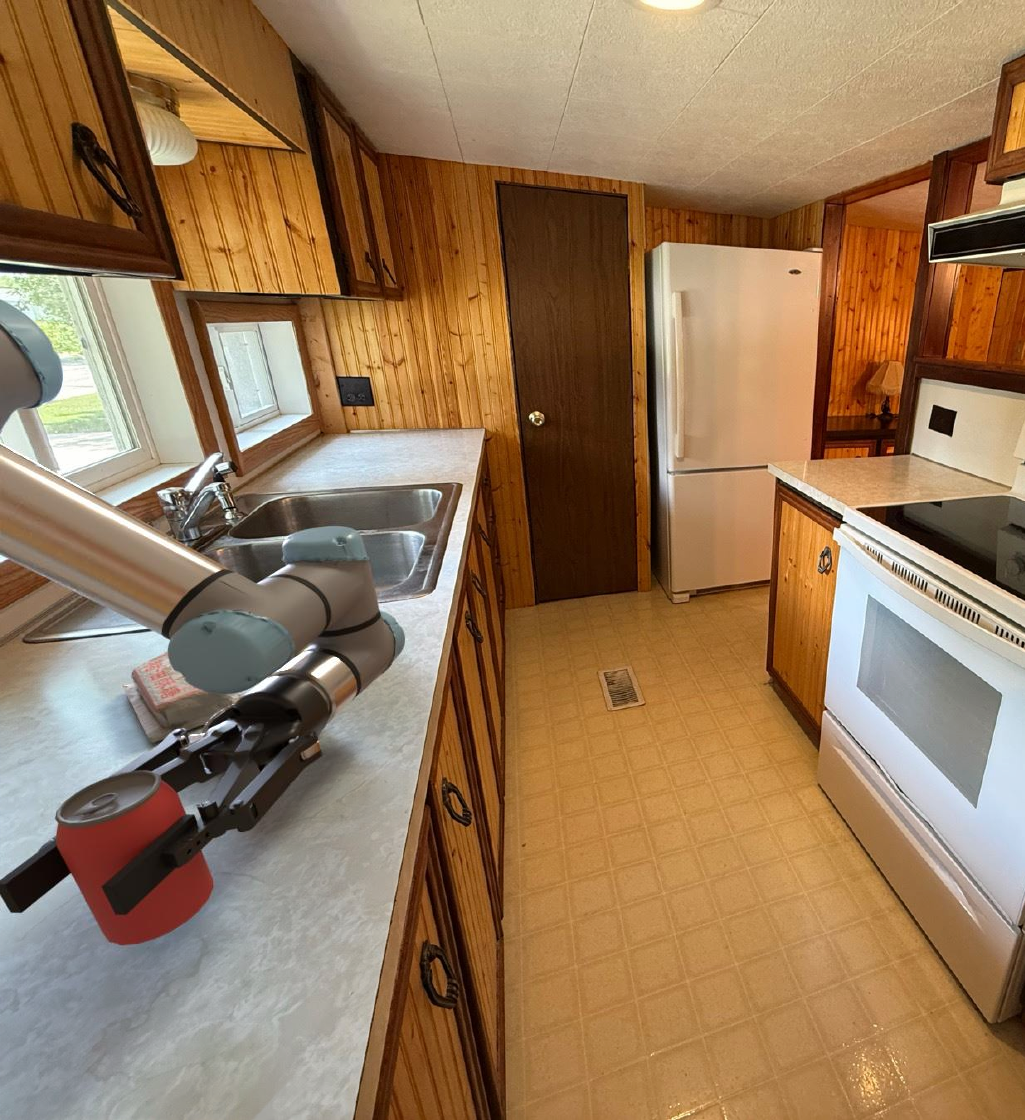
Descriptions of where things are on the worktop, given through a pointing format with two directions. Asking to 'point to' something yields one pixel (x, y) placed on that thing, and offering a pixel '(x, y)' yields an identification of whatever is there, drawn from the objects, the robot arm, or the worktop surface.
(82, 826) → the beer can
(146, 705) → the packaged product
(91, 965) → the worktop surface
